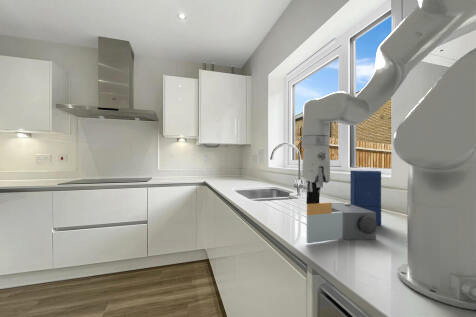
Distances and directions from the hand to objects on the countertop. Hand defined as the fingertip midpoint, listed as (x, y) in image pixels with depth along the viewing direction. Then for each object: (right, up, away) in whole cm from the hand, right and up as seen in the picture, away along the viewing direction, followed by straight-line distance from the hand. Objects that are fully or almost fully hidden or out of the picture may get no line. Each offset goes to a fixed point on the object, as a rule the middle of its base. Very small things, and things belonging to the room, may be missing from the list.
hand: (312, 204), depth 59 cm
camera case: (+14, -11, +8) cm, 20 cm away
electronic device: (+27, -11, +17) cm, 34 cm away
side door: (+3, -10, -1) cm, 10 cm away
